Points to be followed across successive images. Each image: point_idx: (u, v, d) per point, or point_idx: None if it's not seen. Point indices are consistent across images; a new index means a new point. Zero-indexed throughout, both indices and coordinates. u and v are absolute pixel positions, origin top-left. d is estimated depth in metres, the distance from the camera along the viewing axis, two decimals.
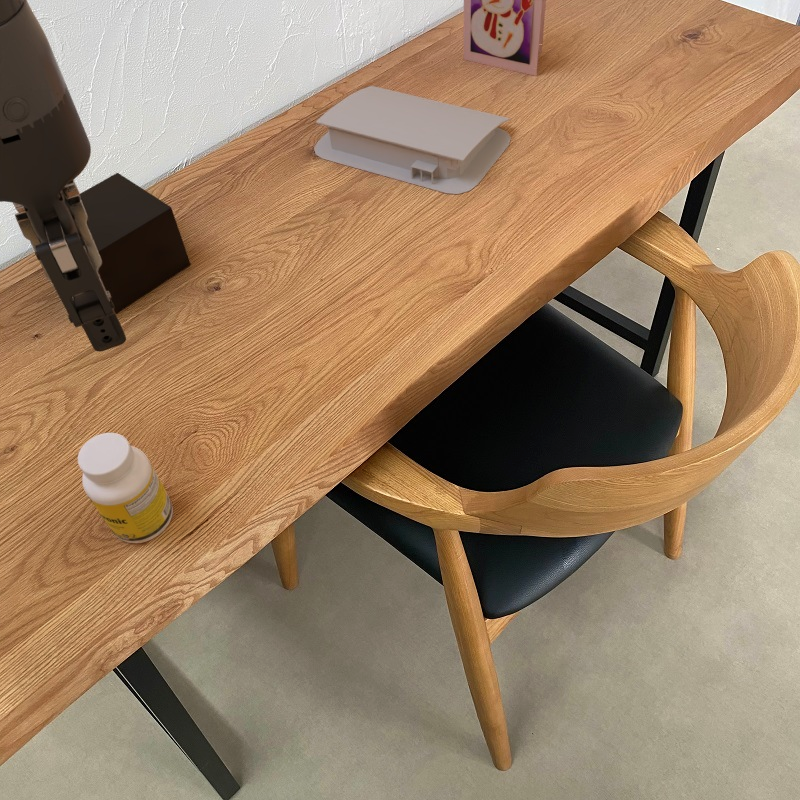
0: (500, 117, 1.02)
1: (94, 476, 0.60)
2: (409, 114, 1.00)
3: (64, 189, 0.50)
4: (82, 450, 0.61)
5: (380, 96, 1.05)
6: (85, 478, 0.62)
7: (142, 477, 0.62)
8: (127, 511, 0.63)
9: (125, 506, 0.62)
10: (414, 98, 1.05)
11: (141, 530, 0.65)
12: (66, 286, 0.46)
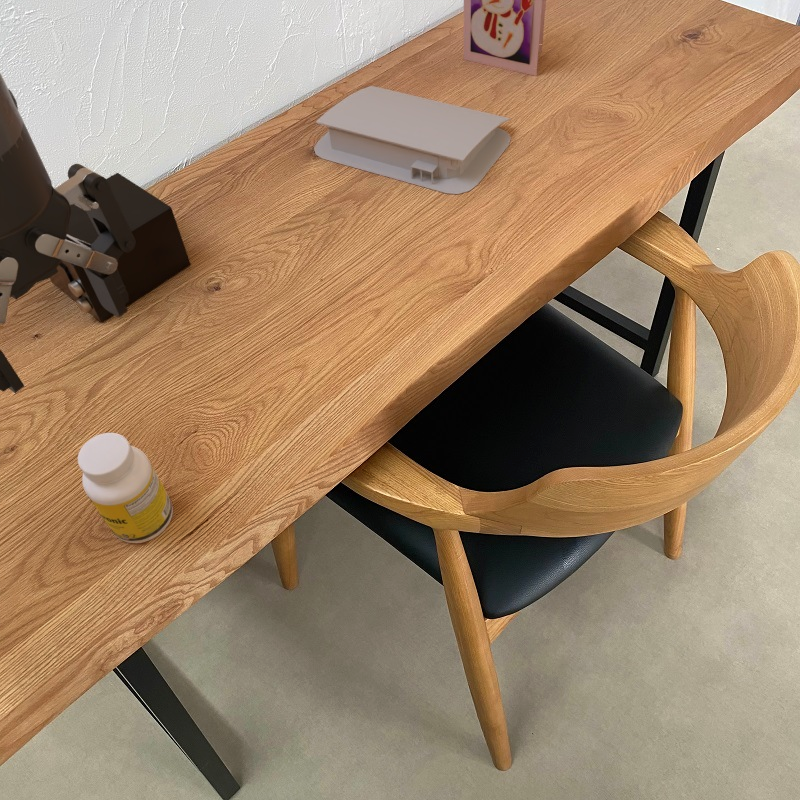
0: (500, 117, 1.02)
1: (95, 476, 0.60)
2: (409, 114, 1.00)
3: (27, 243, 0.47)
4: (82, 450, 0.61)
5: (380, 96, 1.05)
6: (85, 478, 0.62)
7: (142, 477, 0.62)
8: (127, 512, 0.63)
9: (125, 506, 0.62)
10: (414, 98, 1.05)
11: (141, 530, 0.65)
12: None
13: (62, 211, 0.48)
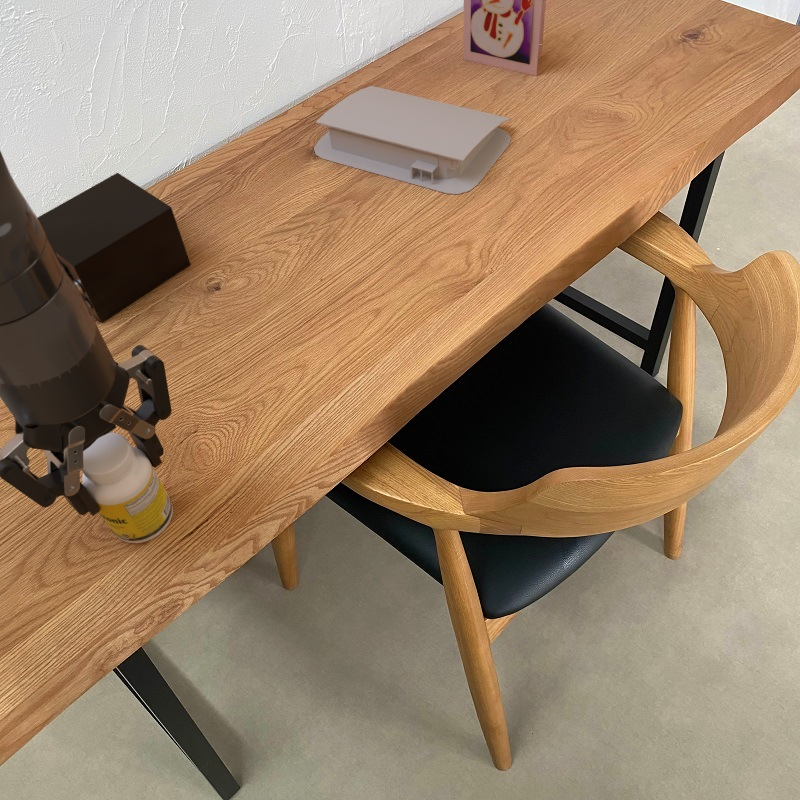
0: (500, 117, 1.02)
1: (94, 476, 0.60)
2: (409, 114, 1.00)
3: (93, 411, 0.57)
4: None
5: (380, 96, 1.05)
6: (85, 478, 0.62)
7: (142, 477, 0.62)
8: (127, 511, 0.63)
9: (125, 506, 0.62)
10: (414, 98, 1.05)
11: (141, 530, 0.65)
12: None
13: (122, 382, 0.57)
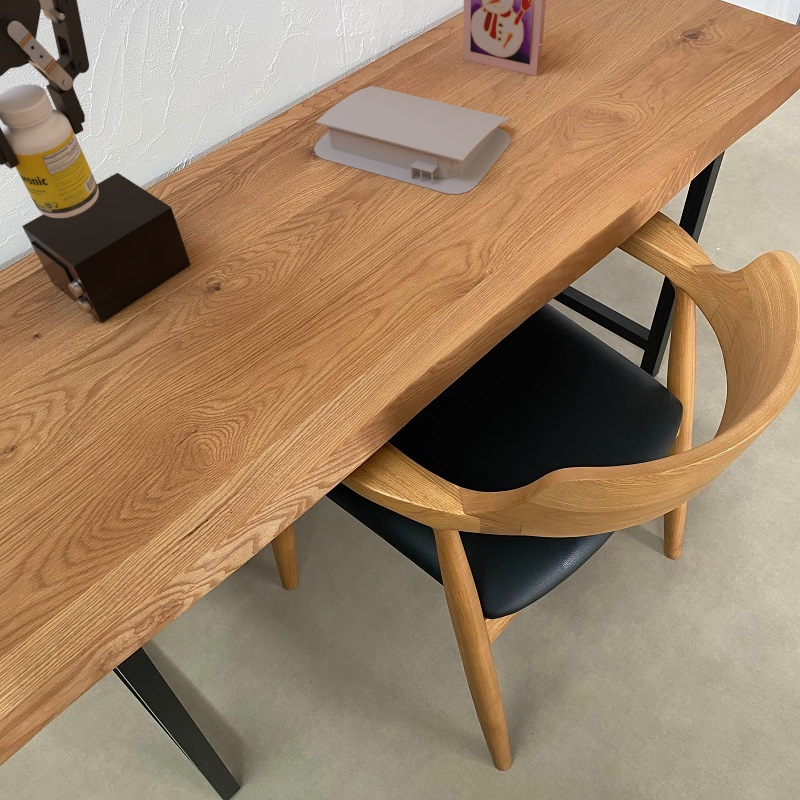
0: (500, 117, 1.01)
1: (9, 115, 0.61)
2: (409, 114, 1.00)
3: (1, 28, 0.57)
4: None
5: (380, 96, 1.05)
6: (4, 130, 0.63)
7: (60, 129, 0.63)
8: (46, 167, 0.63)
9: (43, 159, 0.63)
10: (414, 98, 1.05)
11: (63, 197, 0.66)
12: None
13: (32, 6, 0.58)
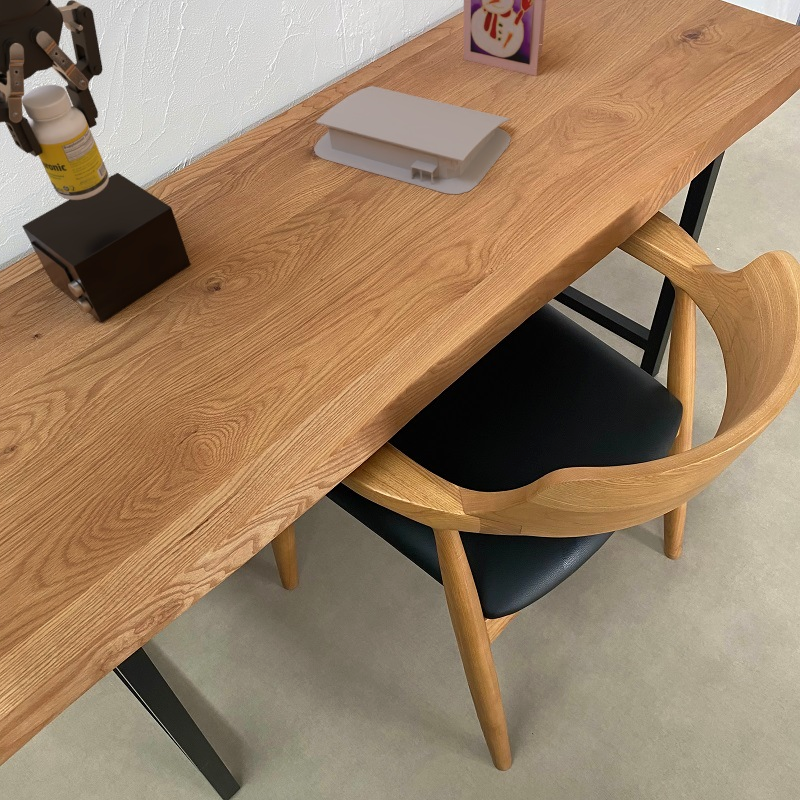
0: (500, 117, 1.01)
1: (35, 110, 0.72)
2: (409, 114, 1.00)
3: (31, 37, 0.68)
4: (26, 95, 0.73)
5: (380, 96, 1.05)
6: None
7: (77, 123, 0.74)
8: (65, 155, 0.75)
9: (63, 147, 0.74)
10: (414, 98, 1.05)
11: (79, 182, 0.77)
12: None
13: (56, 19, 0.69)
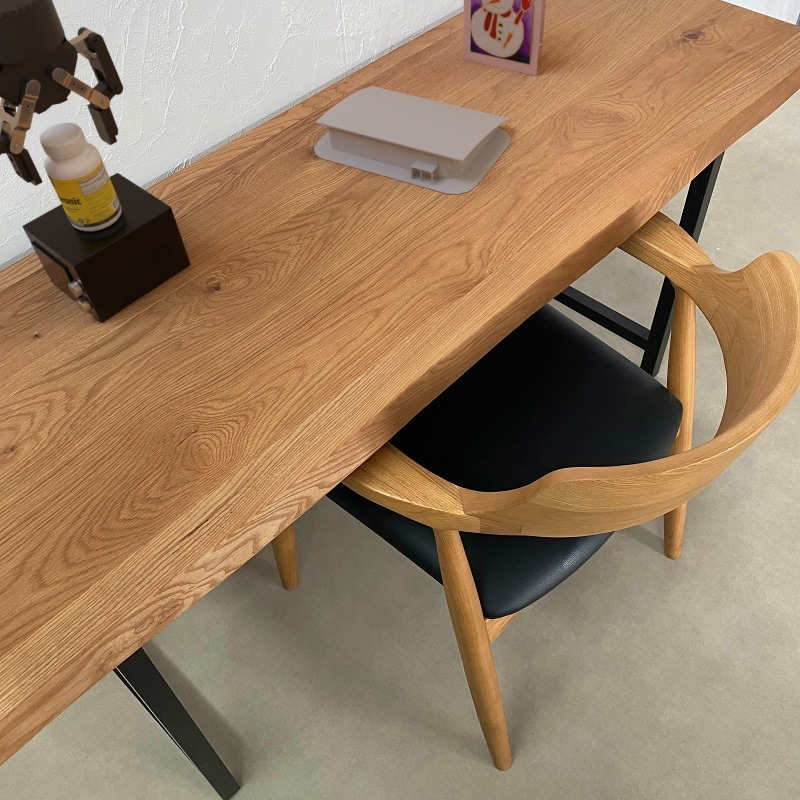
0: (500, 117, 1.01)
1: (52, 148, 0.75)
2: (409, 114, 1.00)
3: (47, 74, 0.71)
4: (43, 133, 0.76)
5: (380, 96, 1.05)
6: (46, 160, 0.77)
7: (92, 159, 0.77)
8: (81, 190, 0.78)
9: (78, 183, 0.77)
10: (414, 98, 1.05)
11: (94, 214, 0.80)
12: None
13: (71, 55, 0.72)
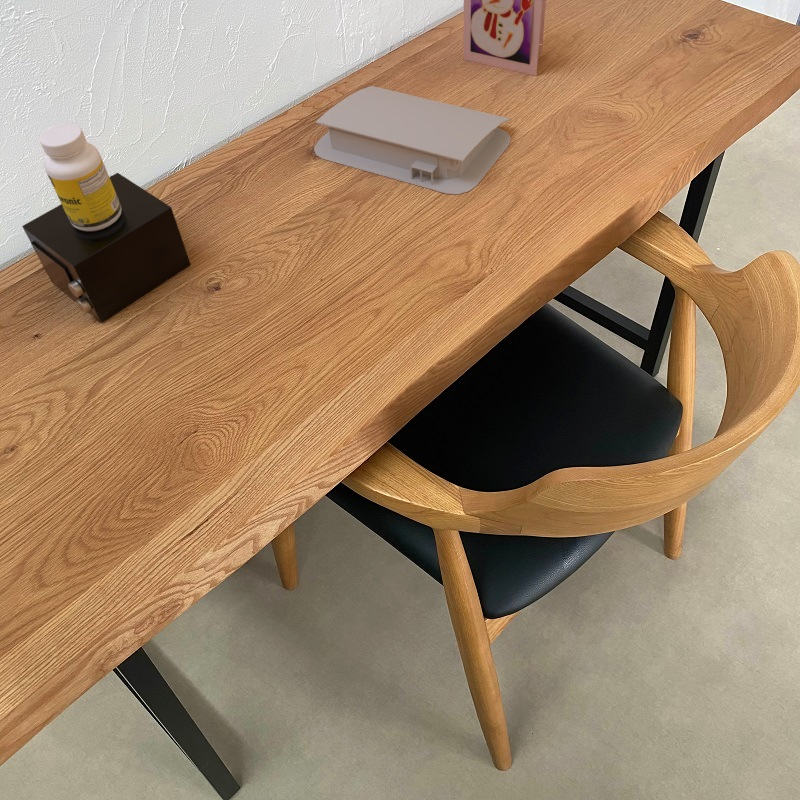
0: (500, 117, 1.01)
1: (53, 148, 0.75)
2: (409, 114, 1.00)
3: None
4: (43, 133, 0.76)
5: (380, 96, 1.05)
6: (46, 160, 0.77)
7: (92, 159, 0.77)
8: (81, 190, 0.78)
9: (78, 183, 0.77)
10: (414, 98, 1.05)
11: (94, 214, 0.80)
12: None
13: None
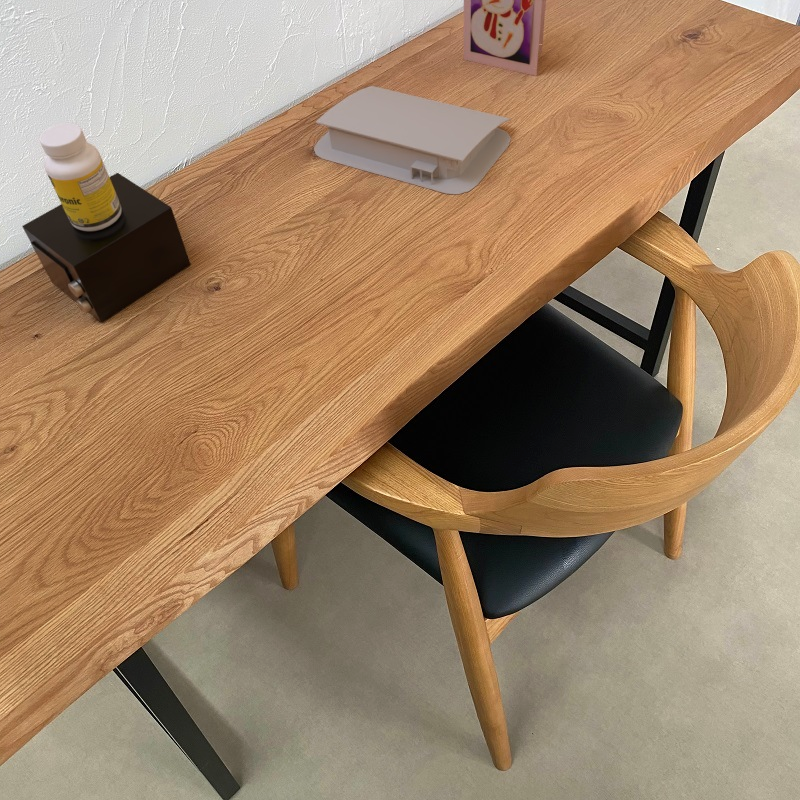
0: (500, 117, 1.01)
1: (53, 148, 0.75)
2: (409, 114, 1.00)
3: None
4: (43, 133, 0.76)
5: (380, 96, 1.05)
6: (46, 160, 0.77)
7: (92, 159, 0.77)
8: (81, 190, 0.78)
9: (78, 183, 0.77)
10: (414, 98, 1.05)
11: (94, 214, 0.80)
12: None
13: None
